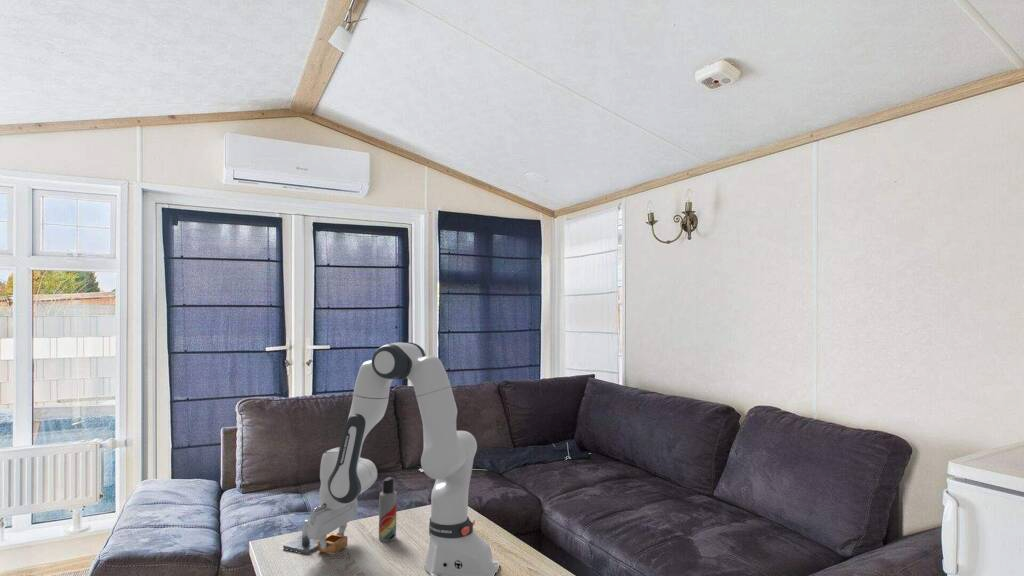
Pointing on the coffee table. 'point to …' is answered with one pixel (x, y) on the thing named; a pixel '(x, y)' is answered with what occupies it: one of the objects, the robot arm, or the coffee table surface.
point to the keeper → (303, 542)
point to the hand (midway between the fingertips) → (332, 542)
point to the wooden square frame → (334, 543)
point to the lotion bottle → (387, 511)
